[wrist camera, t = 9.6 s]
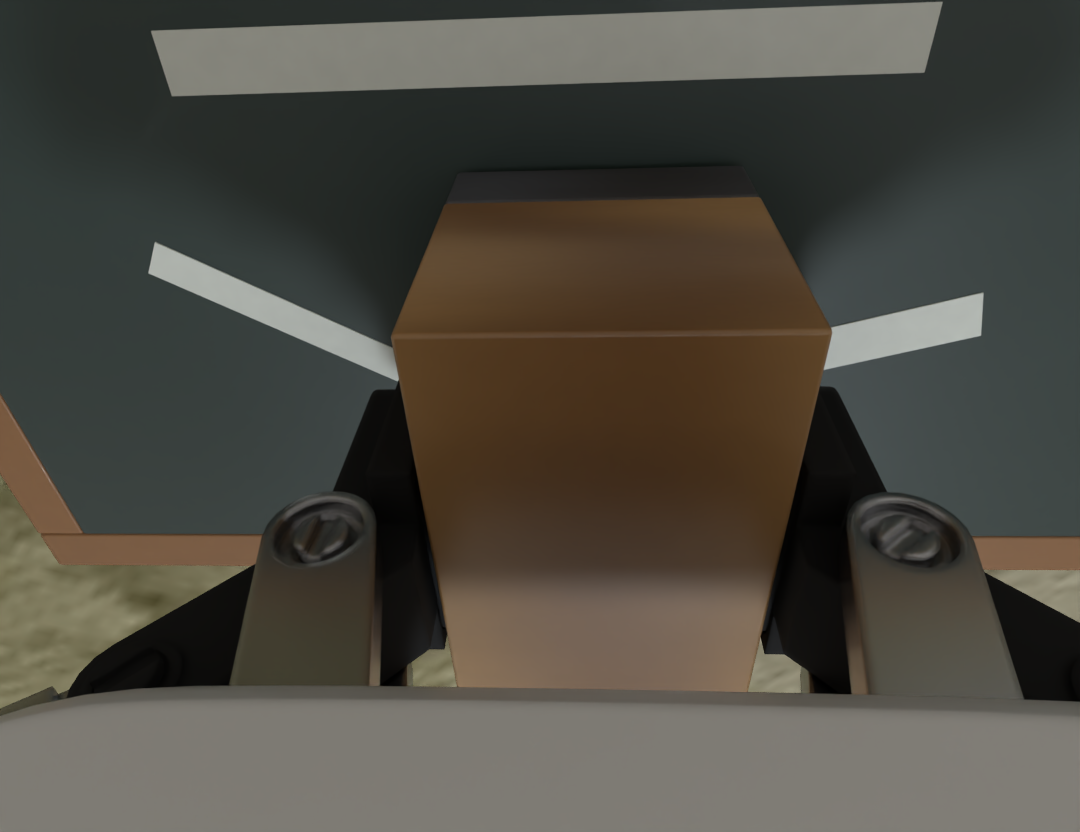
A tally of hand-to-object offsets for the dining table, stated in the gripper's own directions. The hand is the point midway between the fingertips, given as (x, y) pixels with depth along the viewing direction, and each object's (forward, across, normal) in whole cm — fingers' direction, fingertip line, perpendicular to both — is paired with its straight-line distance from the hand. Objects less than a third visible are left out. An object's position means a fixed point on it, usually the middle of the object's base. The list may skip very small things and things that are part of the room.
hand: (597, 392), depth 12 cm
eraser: (0, 0, 0) cm, 0 cm away
